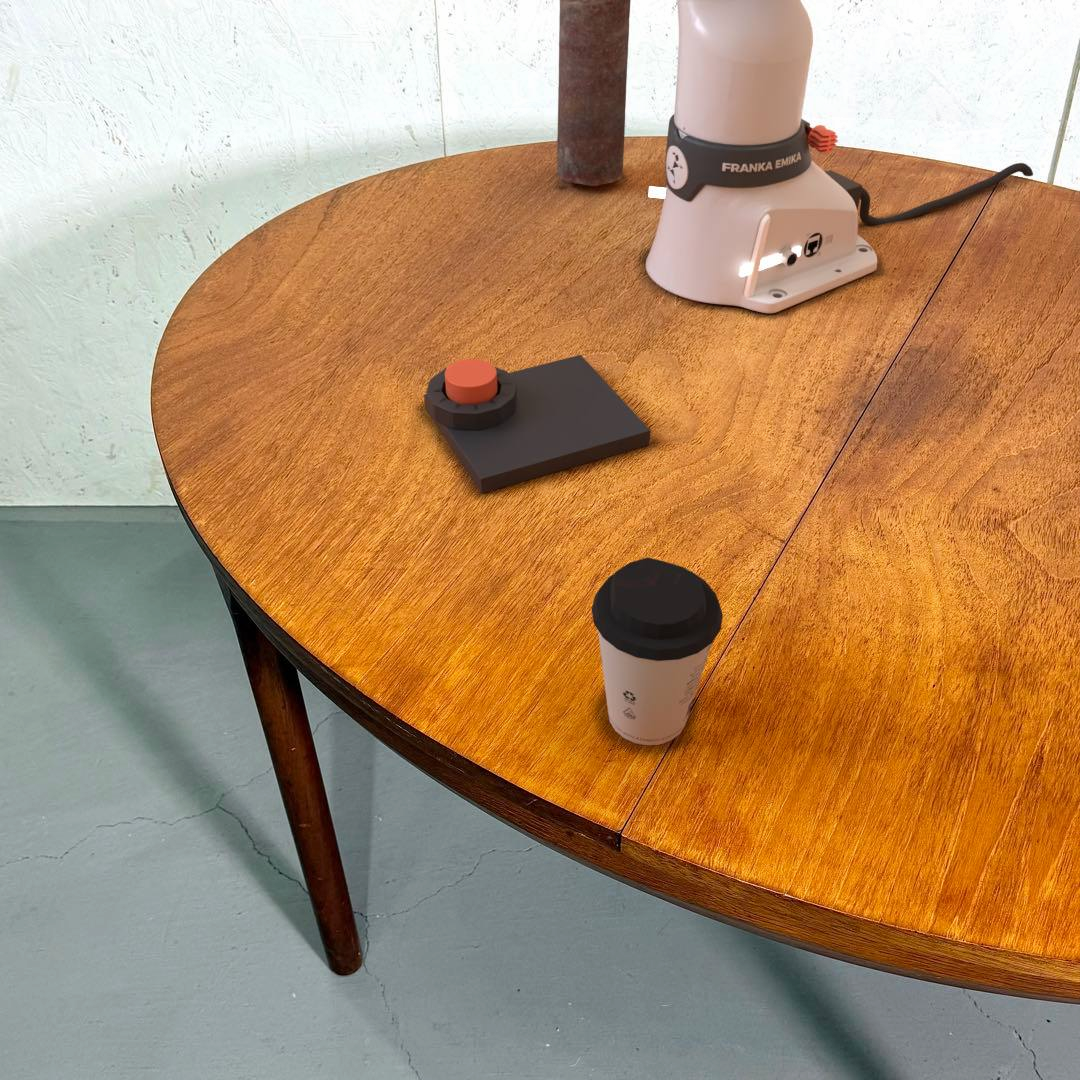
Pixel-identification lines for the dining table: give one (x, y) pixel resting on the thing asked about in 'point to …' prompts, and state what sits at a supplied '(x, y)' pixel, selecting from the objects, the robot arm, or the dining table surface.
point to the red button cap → (471, 381)
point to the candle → (592, 90)
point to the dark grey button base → (536, 423)
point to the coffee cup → (654, 646)
